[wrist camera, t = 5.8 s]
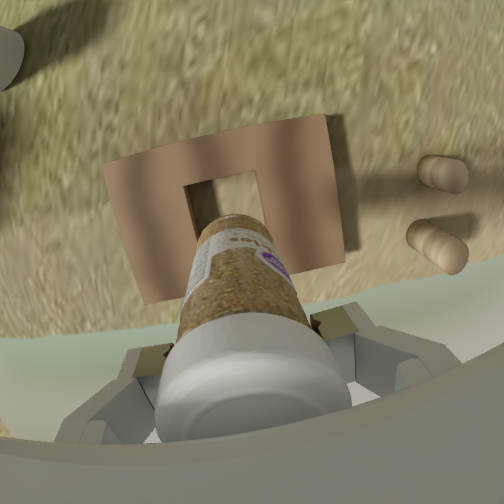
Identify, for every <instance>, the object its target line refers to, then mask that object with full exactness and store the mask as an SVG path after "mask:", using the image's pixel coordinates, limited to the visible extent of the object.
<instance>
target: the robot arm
mask: <svg viewBox="0 0 504 504" xmlns="http://www.w3.org/2000/svg"><path fill="white" fill-rule="evenodd" d="M310 322H311V327H312V330H313V331H314V332H315V333H317V334H318V335H319V336H320V337H321V338H322V339H323V340H324V341H325V342H326V344H327V345H328V347H329V348H330V350H331V352H332V354H333V356H334V358H335V360H336V362H337V364H338V366H339V368H340V370H341V372H342V374H343V377H344V379H345V381H346V383H350V382H354V381H356V382H357V383H358V384H360V385H362V386H363V387H365V388H367V389H368V390H370V391H372V392H374V393H375V394H377V395H379V396H380V397H381V398H378V399H375V400H372V401H369V402H366V403H363V404H360V405H357V406H353V407H350V408H347V409H343V410H340V411H336V412H333V413H329V414H326V415H322V416H318V417H314V418H311V419H307V420H302V421H298V422H294V423H290V424H285V425H281V426H276V427H271V428H266V429H261V430H256V431H251V432H245V433H239V434H233V435H227V436H220V437H212V438H205V439H196V440H187V441H176V442H164V443H149V444H148V443H147V444H143V442H144V441H145V440H146V438H147V437H148V436H149V435H150V433H151V432H152V431H153V429H154V428H155V427H156V426H155V405H156V399H157V394H158V389H159V384H160V379H161V375H162V371H163V367H164V364H165V361H166V359H167V357H168V355H169V353H170V351H171V350H172V348H173V347H174V346H175V345H174V344H173V343H169V344H162V345H155V346H148V347H140V348H134V349H130V350H128V351H127V354H126V357H125V359H124V361H123V364H122V367H121V370H120V372H119V375H118V377H117V380H112V381H111V382H110V383H108V385H106V386H105V387H104V388H102V389H101V390H100V391H99V392H97V393H96V394H95V395H94V396H92V397H91V398H90V399H89V400H87V401H86V402H85V403H84V404H82V405H81V406H80V407H79V408H77V409H76V410H75V411H74V412H72V413H71V414H70V415H69V416H67V417H66V418H65V419H64V420H63V422H62V424H61V427H60V429H59V431H58V434H57V436H56V438H55V441H54V443H53V442H40V441H32V440H23V439H15V438H8V437H2V436H0V504H504V343H502V344H500V345H498V346H496V347H495V348H493V349H491V350H489V351H487V352H485V353H483V354H481V355H479V356H477V357H475V358H474V359H471V360H469V361H467V362H465V363H463V364H462V363H461V362H460V361H459V360H458V359H457V357H456V356H455V355H454V354H452V352H451V351H450V350H449V349H448V348H447V347H446V346H445V345H444V344H441V343H437V342H434V341H430V340H427V339H424V338H420V337H417V336H413V335H410V334H406V333H404V332H400V331H397V330H393V329H390V328H387V327H384V326H377V327H376V326H375V324H374V323H373V322H372V321H371V319H370V318H369V317H368V316H367V314H366V313H365V312H364V310H363V309H362V308H361V307H360V305H359V304H358V303H357V302H352V303H349V304H346V305H342V306H340V307H336V308H332V309H329V310H325V311H322V312H318V313H315V314H311V315H310Z"/></svg>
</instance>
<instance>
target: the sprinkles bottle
mask: <svg viewBox="0 0 504 504" xmlns="http://www.w3.org/2000/svg"><path fill="white" fill-rule="evenodd" d="M350 407H352V402H351V395H350V392H349V389H348V386H347V384H346V381H345V379H344V377H343V374H342V372H341V370H340V368H339V366H338V364H337V362H336V360H335V358H334V356H333V354H332V352H331V350H330V348H329V347H328V345H327V344H326V342H325V341H324V340H323V339H322V338H321V337H320V336H319V335H318V334H317V333H315V332H314V331H313V330H312V328H311V326H310V324H309V323H308V320H307V317H306V315H305V313H304V311H303V309H302V307H301V305H300V302H299V300H298V298H297V292H296V290H295V287H294V285H293V283H292V281H291V279H290V277H289V275H288V273H287V270H286V268H285V266H284V264H283V261H282V259H281V257H280V255H279V253H278V251H277V250H276V248H275V245H274V241H273V238H272V236H271V234H270V233H269V231H268V229H267V228H266V227H265V226H264V225H263V224H262V223H261V222H260V221H258V220H256V219H254V218H252V217H250V216H247V215H240V214H230V215H226V216H222V217H220V218H218V219H216V220H214V221H213V222H211V223H210V224H209V225H208V226H207V227H206V228H205V229H204V230H203V231H202V233H201V236H200V238H199V239H198V243H197V247H196V256H195V258H194V262H193V266H192V270H191V274H190V278H189V282H188V286H187V290H186V295H185V299H184V302H183V306H182V311H181V316H180V326H179V330H178V335H177V340H176V344H175V346H174V347H173V348H172V350H171V351H170V353H169V355H168V357H167V359H166V361H165V364H164V367H163V371H162V375H161V379H160V384H159V389H158V394H157V399H156V405H155V426H156V431H157V434H158V436H159V438H160V440H161V442H162V443H164V442H176V441H187V440H196V439H205V438H212V437H220V436H227V435H233V434H239V433H245V432H251V431H256V430H261V429H266V428H271V427H276V426H281V425H285V424H290V423H294V422H298V421H302V420H307V419H311V418H314V417H318V416H322V415H326V414H329V413H333V412H336V411H340V410H343V409H347V408H350Z"/></svg>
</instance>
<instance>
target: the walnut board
mask: <svg viewBox="0 0 504 504" xmlns="http://www.w3.org/2000/svg"><path fill="white" fill-rule="evenodd" d="M101 166H102V170H103V174H104V178H105V182H106V186H107V189H108V193H109V197H110V200H111V204H112V207H113V211H114V214H115V218H116V221H117V224H118V228H119V231H120V234H121V237H122V240H123V244H124V247H125V250H126V253H127V256H128V259H129V262H130V265H131V268H132V271H133V273H134V276H135V279H136V282H137V285H138V288H139V290H140V293H141V296H142V298H143V301H144V304H150V303H156V302H161V301H166V300H171V299H176V298H181V297H185V295H186V290H187V286H188V282H189V278H190V274H191V270H192V266H193V262H194V258H195V256H196V247H197V243H198V239H199V238H200V234H199V231H198V227H197V223H196V219H195V215H194V211H193V207H192V203H191V199H190V195H189V191H188V187H187V185H190V184H194V183H198V182H202V181H207V180H211V179H215V178H220V177H224V176H229V175H233V174H238V173H243V172H247V171H252V170H255V175H256V180H257V185H258V190H259V195H260V200H261V205H262V210H263V215H264V220H265V225H266V228H267V229H268V231H269V233H270V234H271V236H272V238H273V241H274V245H275V248H276V250H277V251H278V253H279V255H280V257H281V259H282V261H283V264H284V266H285V268H286V270H287V273H288V275H291V274H295V273H300V272H304V271H309V270H313V269H318V268H322V267H326V266H331V265H335V264H339V263H344V262H346V261H345V250H344V241H343V231H342V223H341V214H340V206H339V199H338V191H337V184H336V177H335V171H334V164H333V158H332V152H331V146H330V140H329V134H328V129H327V123H326V118H325V114H321V115H313V116H306V117H299V118H293V119H286V120H280V121H274V122H269V123H263V124H258V125H252V126H247V127H242V128H237V129H232V130H228V131H223V132H218V133H214V134H210V135H205V136H201V137H197V138H193V139H189V140H185V141H181V142H177V143H173V144H169V145H165V146H162V147H158V148H155V149H151V150H148V151H144V152H141V153H137V154H134V155H131V156H127V157H124V158H121V159H118V160H115V161H112V162H108V163H105V164H102V165H101Z"/></svg>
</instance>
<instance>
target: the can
mask: <svg viewBox="0 0 504 504" xmlns="http://www.w3.org/2000/svg"><path fill="white" fill-rule="evenodd" d="M23 57H24V42H23V38H22V36H21V35H20V34H19V33H18V32H15V31H13V30H10V29H7V28H5V27H2V26H0V91H2V90H4V89H5V88H6V87H7V86H8V85H9V84H10V83H11V82H12V80H13V79H14V78H15V76H16V75H17V73H18V71H19V69H20V67H21V64H22V61H23Z"/></svg>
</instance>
